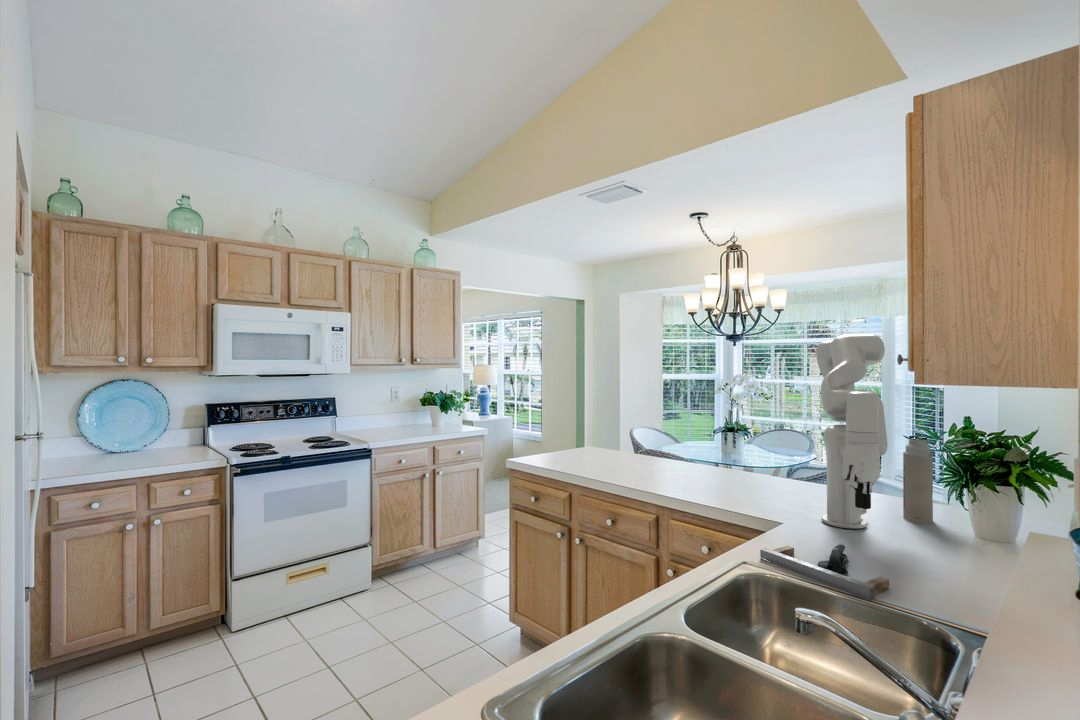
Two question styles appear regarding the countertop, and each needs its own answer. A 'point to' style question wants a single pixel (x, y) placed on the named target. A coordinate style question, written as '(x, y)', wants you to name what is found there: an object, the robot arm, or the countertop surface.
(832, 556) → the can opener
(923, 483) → the thermos bottle
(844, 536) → the countertop surface
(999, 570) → the countertop surface
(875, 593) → the dock
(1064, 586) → the countertop surface
